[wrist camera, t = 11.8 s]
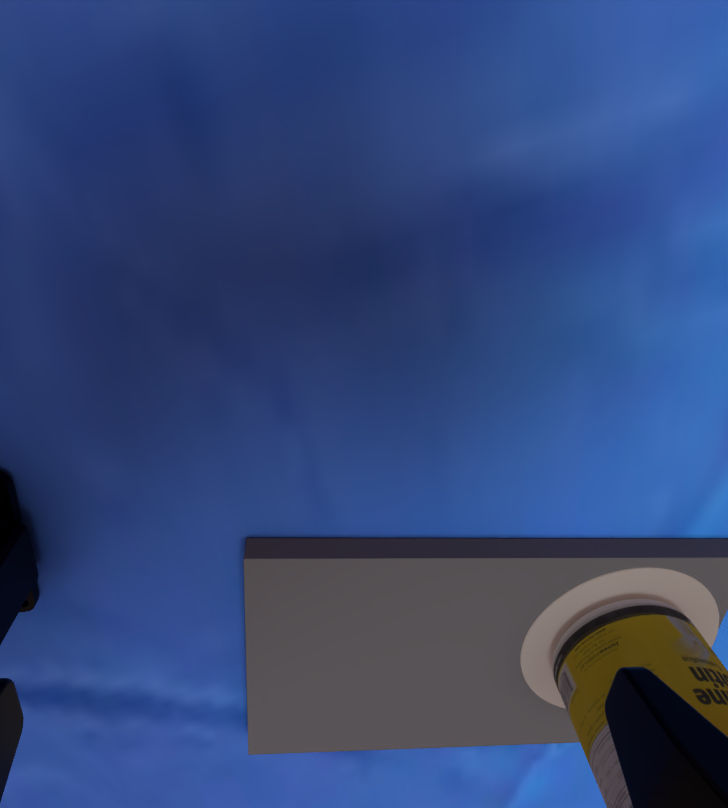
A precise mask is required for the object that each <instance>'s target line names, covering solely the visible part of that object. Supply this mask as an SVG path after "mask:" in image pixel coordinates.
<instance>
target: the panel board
mask: <svg viewBox="0 0 728 808" xmlns="http://www.w3.org/2000/svg"><path fill="white" fill-rule="evenodd" d="M244 592H245V632H246V672H247V712H248V752H249V755H252V754H279V753H306V752H332V751H359V750H386V749H413V748H440V747H467V746H493V745H520V744H547V743H574V742H580V740H579V738H578V736H577V733H576V731H575V728H574V726H573V724H572V721H571V719H570V717H569V714H568V712H567V710H566V707H565V705H564V702H563V700H562V698H561V695H560V693H559V691H558V688H557V686H556V683H555V680H554V677H553V670H552V662H553V655H554V652H555V649H556V647H557V644H558V642H559V641H560V639H561V637H562V636H563V635H564V633H565V632H566V631H567V630H568V629H569V628H570V627H571V626H572V625H573V624H574V623H575V622H576V621H577V620H579V619H580V618H581V617H583V616H584V615H586V614H588V613H589V612H591V611H593V610H595V609H597V608H599V607H601V606H604V605H607V604H610V603H613V602H617V601H622V600H629V599H649V600H655V601H660V602H663V603H666V604H669V605H671V606H673V607H675V608H676V609H678V610H680V611H681V612H682V613H683V614H685V615H686V616H687V617H688V618H689V619H690V621H691V622H692V623H693V624H694V626H695V627H696V628H697V629H698V631H699V632H700V634H701V635H702V636H703V638H704V639H705V641H706V642H707V643H708V645H709V646H710V648H711V647H712V645H713V643H714V641H715V638H716V636H717V632H718V628H719V626H720V624H721V622H722V620H723V618H724V616H725V614H726V612H727V609H728V539H511V538H246V545H245V553H244Z"/></svg>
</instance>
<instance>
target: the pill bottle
mask: <svg viewBox="0 0 728 808" xmlns="http://www.w3.org/2000/svg"><path fill="white" fill-rule="evenodd" d="M621 667H644V668H647V669H648V670H650V671H651V672H653V673H654V674H655V675H656V676H657V677H658V678H660V679H661V680H662V681H663V682H664V683H665V684H667V685H668V686H669V687H670V688H671V689H672V690H674V691H675V692H676V693H677V694H678V695H679V696H681V697H682V698H683V699H684V700H685V701H686V702H687V703H689V704H690V705H691V706H692V707H693V708H694V709H696V710H697V711H698V712H699V713H700V714H701V715H703V716H704V717H705V718H706V719H707V720H708V721H710V722H711V723H712V724H713V725H714V726H715V727H717V728H718V729H719V730H720V731H721V732H722V733H724V734H725V735H726V736H727V737H728V671H727V670H726V668H725V667H724V665H723V664H722V663H721V661H720V660H719V659H718V657H717V656H716V655H715V653H714V652H713V650H712V649H711V648H710V646H709V645H708V643H707V642H706V641H705V639H704V638H703V636H702V635H701V634H700V632H699V631H698V629H697V628H696V627H695V626H694V624H693V623H692V622H691V621H690V619H689V618H688V617H687V616H686V615H685V614H683V613H682V612H681V611H680V610H678V609H676V608H675V607H673V606H671V605H669V604H666V603H663V602H660V601H655V600H649V599H629V600H622V601H617V602H613V603H610V604H607V605H604V606H601V607H599V608H597V609H595V610H593V611H591V612H589V613H588V614H586V615H584V616H583V617H581V618H580V619H579V620H577V621H576V622H575V623H574V624H573V625H572V626H571V627H570V628H569V629H568V630H567V631H566V632H565V633H564V635H563V636H562V637H561V639H560V641H559V642H558V644H557V647H556V649H555V652H554V655H553V662H552V670H553V677H554V680H555V683H556V686H557V688H558V691H559V693H560V695H561V698H562V700H563V702H564V705H565V707H566V710H567V712H568V714H569V717H570V719H571V721H572V724H573V726H574V728H575V731H576V733H577V736H578V738H579V740H580V743H581V745H582V748H583V750H584V753H585V755H586V757H587V760H588V762H589V765H590V767H591V769H592V772H593V774H594V777H595V779H596V782H597V784H598V787H599V789H600V791H601V794H602V796H603V799H604V801H605V804H606V806H607V808H633V806H632V803H631V799H630V796H629V793H628V789H627V786H626V783H625V779H624V776H623V773H622V769H621V766H620V763H619V759H618V756H617V753H616V749H615V746H614V742H613V739H612V736H611V732H610V729H609V726H608V722H607V719H606V715H605V700H606V697H607V694H608V692H609V689H610V687H611V684H612V682H613V679H614V677H615V674H616V672H617V670H618V669H620V668H621Z"/></svg>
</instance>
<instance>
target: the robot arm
mask: <svg viewBox="0 0 728 808" xmlns="http://www.w3.org/2000/svg"><path fill="white" fill-rule="evenodd" d="M37 578H38V571H37V567H36V563H35V558H34V554H33V550H32V545H31V541H30V537H29V532H28V528H27V527H26V526H25V524H24V523H23V522H22V520H21V516H20V512H19V508H18V503H17V499H16V495H15V491H14V486H13V482H12V480H11V478H10V476H9V475H7V474H6V473H5V472H3V471H0V645H1V643H2V641H3V639H4V637H5V636H6V634H7V632H8V630H9V628H10V627H11V625H12V623H13V621H14V620H15V618H16V616H17V614H18V612H26V611H30V610H32V609H33V608H34V606H35V605H36V603H37V601H38V599H39V593H38V588H37V584H36V580H37ZM605 715H606V719H607V722H608V726H609V729H610V732H611V736H612V739H613V742H614V746H615V749H616V753H617V756H618V759H619V763H620V766H621V769H622V773H623V776H624V779H625V783H626V786H627V789H628V793H629V796H630V799H631V803H632V806H633V808H728V737H727V736H726V735H725V734H724V733H722V732H721V731H720V730H719V729H718V728H717V727H715V726H714V725H713V724H712V723H711V722H710V721H708V720H707V719H706V718H705V717H704V716H703V715H701V714H700V713H699V712H698V711H697V710H696V709H694V708H693V707H692V706H691V705H690V704H689V703H687V702H686V701H685V700H684V699H683V698H682V697H681V696H679V695H678V694H677V693H676V692H675V691H674V690H672V689H671V688H670V687H669V686H668V685H667V684H665V683H664V682H663V681H662V680H661V679H660V678H658V677H657V676H656V675H655V674H654V673H653V672H651V671H650V670H648V669H647V668H644V667H621V668H620V669H618V670H617V672H616V674H615V677H614V679H613V682H612V684H611V687H610V689H609V692H608V694H607V697H606V700H605ZM22 728H23V713H22V709H21V706H20V702H19V699H18V695H17V691H16V688H15V685H14V682H13V681H12V680H10V679H8V678H0V802H1V798H2V795H3V792H4V789H5V785H6V782H7V779H8V776H9V772H10V769H11V766H12V762H13V759H14V756H15V753H16V749H17V746H18V743H19V740H20V736H21V733H22Z"/></svg>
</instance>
